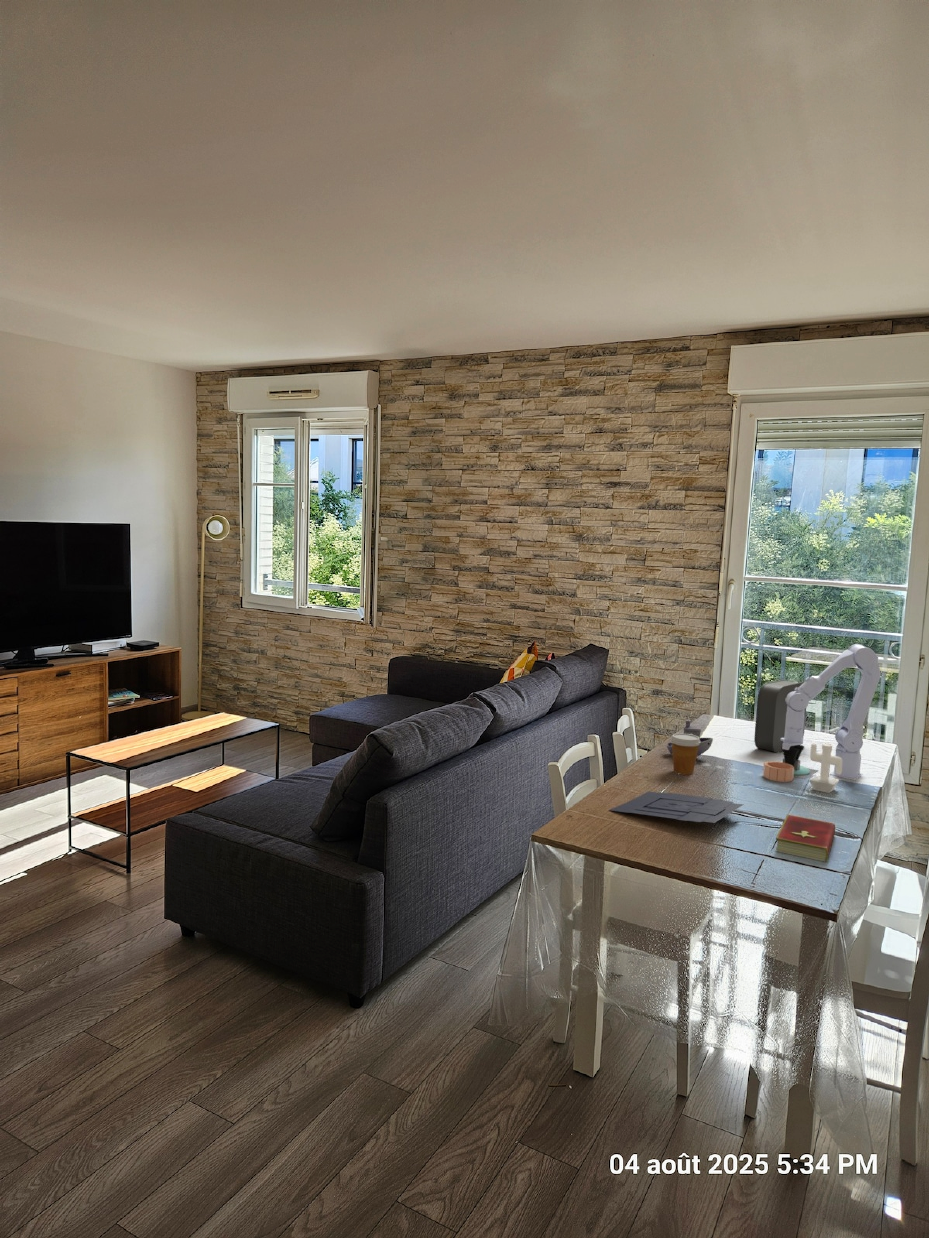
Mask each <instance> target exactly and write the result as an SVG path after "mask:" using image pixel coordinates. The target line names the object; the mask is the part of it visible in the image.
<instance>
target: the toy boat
mask: <svg viewBox="0 0 929 1238" xmlns="http://www.w3.org/2000/svg"><path fill="white" fill-rule="evenodd" d="M691 722H692V720H691V719H685V725H684V726H683V734H691V735H695V736H698V737H699V739H700V742H701V743H700V745H699V747H698V752H697V757H699V756H701V755H703V754H704V753H706V752H708V750H709V749H710V748H711V747H712V744H713V739H714V738H712V737H700V736H701V731H702V727H703V726H702V725H691ZM666 748H667V750H668V752H669V754H672V755H673V751H672V742H671V741H669V742H667V745H666Z"/></svg>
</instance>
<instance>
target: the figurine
mask: <svg viewBox="0 0 929 1238" xmlns="http://www.w3.org/2000/svg"><path fill="white" fill-rule="evenodd" d="M817 747H818V746H817V743H811V745H810V753H809V754H810V755H809V757H810V761H812V762H815V763H821V766H820V774H819V775H817V774H813V775H812V777H810V778H808V779H809V782H810V785H811V787H812V790H813V791H818V792H822V793H827V794H830V793H832V791H833V790H835V788H836V786H837V784H838V783H839V782H840V779H838V778H833V777H830V768H831V766H836V774H837V775H840V774H841V773H842V758H840V757H836V756H835V755H832V751H833V745H832V743H829V742H828V743H827V742H824V743H822V745H821V750H822V752H821V753H818V752H817V751H818V750H817Z"/></svg>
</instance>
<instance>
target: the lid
mask: <svg viewBox="0 0 929 1238" xmlns="http://www.w3.org/2000/svg"><path fill="white" fill-rule="evenodd" d="M782 762H783V763H785V758H784V757H783V758H782ZM808 768H809V767H806V766H804V765H801V760H800V759H798V760H795V763H794V775H808V774H810V770H809V769H810V768H809V769H808Z"/></svg>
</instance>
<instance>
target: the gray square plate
mask: <svg viewBox="0 0 929 1238" xmlns="http://www.w3.org/2000/svg"><path fill="white" fill-rule="evenodd" d="M807 768H808V769H809V770H810V774H808V775H794V776H793V778H798V779H803V780H806V779H809V777H811V776H814V775H815V774H816V773H818V772H820V771H819V770H818V769H814V768H813V769H812V768H809V767H807Z"/></svg>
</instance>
